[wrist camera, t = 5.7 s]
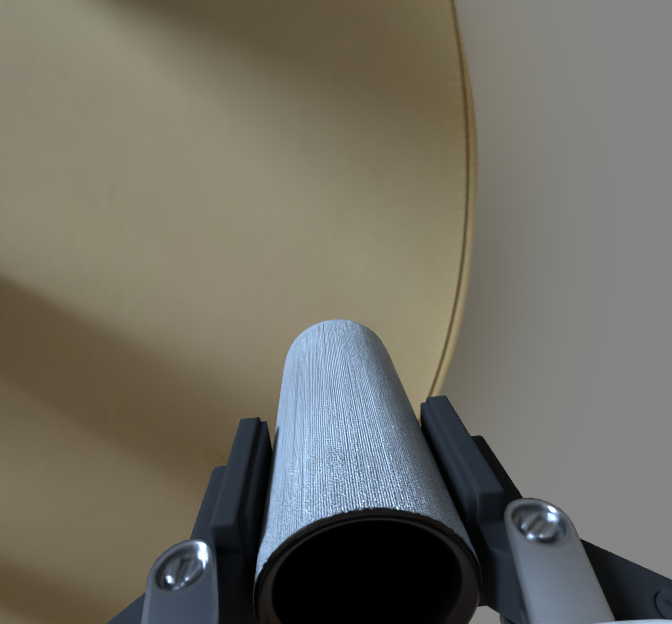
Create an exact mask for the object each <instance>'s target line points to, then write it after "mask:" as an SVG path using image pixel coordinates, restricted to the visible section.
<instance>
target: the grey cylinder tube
mask: <svg viewBox="0 0 672 624" xmlns="http://www.w3.org/2000/svg"><path fill="white" fill-rule="evenodd" d="M481 588H482V575H481V568H480V564H479V561H478V558H477V556H476V553H475V551H474V548H473V546H472V544H471V541H470V539H469V537H468V535H467V532H466V530H465V528H464V525H463V523H462V521H461V518H460V516H459V514H458V512H457V509H456V507H455V505H454V502H453V500H452V498H451V496H450V493H449V491H448V489H447V486H446V484H445V482H444V480H443V477H442V475H441V473H440V470H439V468H438V466H437V464H436V461H435V459H434V457H433V454H432V452H431V450H430V448H429V445H428V443H427V441H426V438H425V436H424V434H423V432H422V429H421V427H420V425H419V422H418V420H417V418H416V416H415V413H414V411H413V409H412V406H411V404H410V402H409V399H408V397H407V395H406V393H405V390H404V388H403V386H402V383H401V381H400V379H399V377H398V374H397V372H396V370H395V367H394V365H393V363H392V361H391V358H390V356H389V354H388V352H387V350H386V348H385V346H384V344H383V343H382V341H381V340H380V339H379V337H378V336H377V335H376V334H375V333H374V332H373V331H371V330H370V329H369V328H367V327H365V326H364V325H362V324H359V323H357V322H354V321H349V320H340V319H337V320H328V321H323V322H320V323H318V324H315V325H313V326H311V327H309V328H308V329H306V330H305V331H304V332H303V333H301V334H300V335H299V336H298V337H297V338H296V340H295V341H294V342H293V344H292V346H291V347H290V349H289V352H288V354H287V358H286V362H285V366H284V373H283V380H282V387H281V394H280V401H279V408H278V415H277V423H276V430H275V437H274V444H273V451H272V458H271V465H270V472H269V479H268V486H267V494H266V501H265V508H264V515H263V522H262V529H261V536H260V543H259V550H258V557H257V565H256V572H255V580H254V588H253V607H254V612H255V616H256V619H257V622H258V624H469V622H470V621H471V619H472V617H473V615H474V613H475V611H476V609H477V606H478V603H479V599H480V595H481Z"/></svg>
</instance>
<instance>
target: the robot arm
mask: <svg viewBox="0 0 672 624" xmlns="http://www.w3.org/2000/svg"><path fill="white" fill-rule="evenodd" d="M421 429H422V432H423V434H424V436H425V438H426V441H427V443H428V445H429V448H430V450H431V452H432V454H433V457H434V459H435V461H436V464H437V466H438V468H439V470H440V473H441V475H442V477H443V480H444V482H445V484H446V486H447V489H448V491H449V493H450V496H451V498H452V500H453V502H454V505H455V507H456V509H457V512H458V514H459V516H460V518H461V521H462V523H463V525H464V528H465V530H466V532H467V535H468V537H469V539H470V541H471V544H472V546H473V548H474V551H475V553H476V556H477V558H478V561H479V564H480V568H481V575H482V588H481V595H480V599H479V603H478V606H477V607H479V606H487V605H488V607H490V608H492V609H493V610H495V611H496V612H498V613H500V622H501V624H672V580H671V579H669V578H666V577H664V576H662V575H660V574H658V573H655V572H653V571H651V570H649V569H646V568H644V567H642V566H640V565H638V564H635V563H633V562H631V561H629V560H626V559H624V558H622V557H620V556H618V555H615V554H613V553H611V552H608V551H607V550H604V549H602V548H600V547H598V546H595V545H593V544H591V543H589V542H587V541H584V540H582V539H580V538H579V536H578V534H577V531H576V529H575V527H574V525H573V523H572V521H571V520H570V518H569V517H568V516H567V515H566V514H565V513H564V512H563V511H562V510H561V509H560V508H558V507H556V506H555V505H553V504H551V503H549V502H546V501H543V500H541V499H534V498H523V497H522V496H521V494H520V492H519V491H518V489H517V488H516V486H515V485H514V483H513V482H512V480H511V479H510V477H509V476H508V474H507V473H506V471H505V470H504V468H503V467H502V465H501V464H500V462H499V461H498V459H497V458H496V456H495V454H494V453H493V452H492V450H491V448H490V447H489V445H488V444H487V443H486V441H485V439H484V438H483V437H482V436H480V435H479V436H470V434H469V433H468V431H467V429H466V428H465V426H464V425H463V423H462V421H461V420H460V418H459V416H458V415H457V413H456V412H455V410H454V408H453V407H452V405H451V403H450V402H449V400H448V398H447V397H446V396H445V395H444V396H435V397H427V399H426V402H425V403H421ZM271 458H272V446H271V441H270V435H269V430H268V424H267V422H266V421H263V422H261V420H260V418H259V417H256V418H248V419H241V420H240V422H239V426H238V429H237V433H236V436H235V440H234V443H233V446H232V450H231V453H230V457H229V460H228V464H227V466H220V467H215V468H214V469H213V472H212V474H211V477H210V480H209V483H208V486H207V489H206V492H205V495H204V498H203V501H202V504H201V507H200V510H199V513H198V516H197V519H196V522H195V525H194V528H193V531H192V534H191V537H190V540H185V541H182V542H180V543H177V544H175V545H173V546H172V547H170V548H169V549H167V550H166V551H164V552H163V553H162V554H161V555H160V556H159V557H158V558H157V559H156V561H155V563H154V564H153V566H152V567H151V569H150V572H149V575H148V579H147V586H146V592H145V593H144V594H143V595H142V596H140V597H139V598H138V599H136V600H135V601H134V602H133V603H131V604H130V605H129V606H128V607H126V608H125V609H124V610H123V611H121V612H120V613H119V614H118V615H116V616H115V617H114V618H112V619H111V620H110V621H109V622H107V623H106V624H258V622H257V619H256V616H255V612H254V607H253V588H254V580H255V572H256V565H257V557H258V550H259V543H260V536H261V529H262V522H263V515H264V508H265V501H266V494H267V486H268V479H269V472H270V465H271Z"/></svg>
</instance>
